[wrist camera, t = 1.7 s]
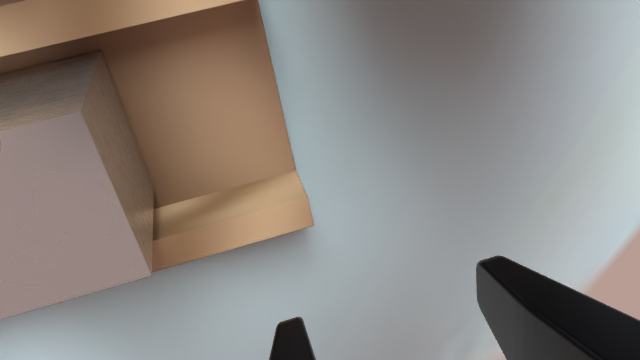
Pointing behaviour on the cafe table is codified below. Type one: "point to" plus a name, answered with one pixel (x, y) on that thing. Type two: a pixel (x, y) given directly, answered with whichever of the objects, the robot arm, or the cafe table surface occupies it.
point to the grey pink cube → (69, 186)
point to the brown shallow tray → (183, 110)
